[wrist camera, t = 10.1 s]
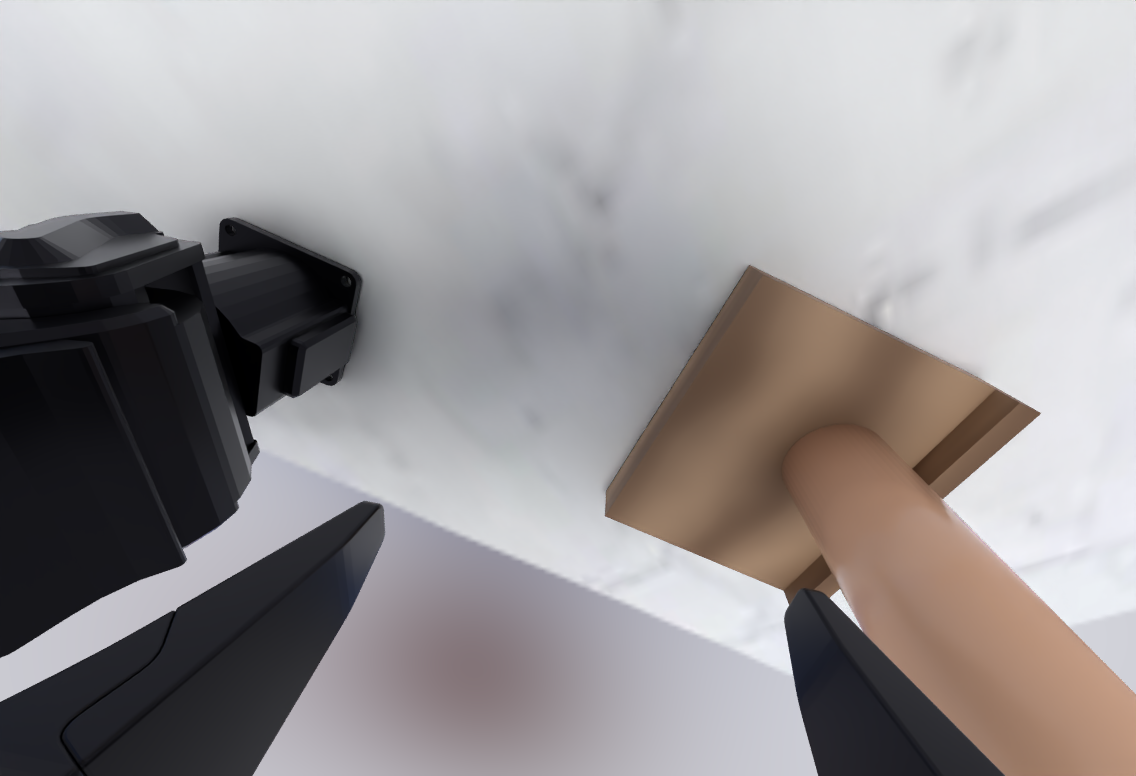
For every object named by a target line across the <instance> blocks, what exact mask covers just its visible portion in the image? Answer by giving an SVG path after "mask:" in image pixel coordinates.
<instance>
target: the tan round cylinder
mask: <svg viewBox="0 0 1136 776" xmlns="http://www.w3.org/2000/svg"><path fill="white" fill-rule="evenodd" d="M782 478H783V482H784V484H785V486H786V488H787V489H788V491H789V493H790V495H791V497H792V499H793V501H794V503H795V505H796V506H797V508H798V510H799V512H800V514H801V516H802V518H803V520H804V521H805V523H806V525H807V527H808V529H809V531H810V533H811V535H812V536H813V538H814V540H815V542H816V544H817V546H818V548H819V550H820V552H821V553H822V555H823V557H824V559H825V561H826V563H827V565H828V567H829V568H830V570H831V572H832V574H833V576H834V578H835V580H836V582H837V583H838V585H839V587H840V589H841V591H842V593H843V595H844V597H845V599H846V600H847V602H848V604H849V606H850V608H851V610H852V612H853V614H854V615H855V617H856V619H857V621H858V623H859V625H860V627H861V629H862V631H863V632H864V634H865V635H866V636H867V637H868V638H869V639H870V640H871V641H872V642H873V643H874V644H875V645H876V646H877V647H878V648H879V649H880V650H881V651H882V652H883V653H884V654H885V655H886V656H887V657H888V658H889V659H890V660H891V661H892V662H893V663H894V664H895V665H896V666H897V667H898V668H899V669H900V670H901V671H902V672H903V673H904V674H905V675H906V676H907V677H908V678H909V679H910V680H911V681H912V682H913V683H914V684H915V685H916V686H917V687H918V688H919V689H920V690H921V691H922V692H923V693H924V694H925V695H926V696H927V697H928V698H929V699H930V700H931V701H932V702H933V703H934V704H935V705H936V706H937V707H938V708H939V709H940V710H941V711H942V712H943V713H944V714H945V715H946V716H947V717H948V718H949V719H950V720H951V721H952V722H953V723H954V724H955V725H956V726H957V727H958V728H959V729H960V730H961V731H962V732H963V733H964V734H965V735H966V736H967V737H968V738H969V739H970V740H971V741H972V742H973V743H974V744H975V745H976V746H977V748H978V749H979V750H980V751H981V752H982V753H983V754H984V755H985V756H986V757H987V758H988V759H989V760H990V761H991V762H992V763H993V764H994V765H995V766H996V767H997V768H998V769H999V770H1000V771H1001V772H1002V773H1003V774H1004V775H1005V776H1136V694H1135V693H1134V692H1133V691H1132V690H1131V689H1130V688H1129V687H1128V686H1127V685H1126V684H1125V683H1124V682H1123V681H1122V680H1121V679H1120V678H1119V677H1118V676H1117V675H1116V674H1115V673H1114V672H1113V671H1112V670H1111V669H1110V668H1109V667H1108V666H1107V665H1106V664H1105V663H1104V662H1103V661H1102V660H1101V659H1100V658H1099V657H1098V656H1097V655H1096V654H1095V653H1094V652H1093V651H1092V650H1091V649H1090V648H1089V647H1088V646H1087V645H1086V644H1085V643H1084V642H1083V641H1082V640H1081V639H1080V638H1079V637H1078V636H1077V635H1076V634H1075V633H1074V632H1073V631H1072V630H1071V629H1070V628H1069V627H1068V626H1067V625H1066V624H1065V623H1064V622H1063V621H1062V620H1061V619H1060V618H1059V617H1058V616H1057V615H1056V613H1055V612H1054V611H1053V610H1052V609H1051V608H1050V607H1049V606H1048V605H1047V604H1046V603H1045V602H1044V601H1043V600H1042V599H1041V598H1040V597H1039V596H1038V595H1037V594H1036V593H1035V592H1034V591H1033V590H1032V589H1031V588H1030V587H1029V586H1028V585H1027V584H1026V583H1025V582H1024V581H1023V580H1022V579H1021V578H1020V577H1019V576H1018V575H1017V574H1016V573H1015V572H1014V571H1013V570H1012V569H1011V568H1010V567H1009V566H1008V565H1007V564H1006V563H1005V562H1004V561H1003V560H1002V559H1001V558H1000V557H999V556H998V555H997V554H996V553H995V552H994V551H993V550H992V549H991V548H990V547H989V546H988V545H987V544H986V543H985V542H984V541H983V540H982V539H981V538H980V537H979V536H978V535H977V534H976V533H975V532H974V531H973V530H972V529H971V528H970V527H969V526H968V525H967V524H966V523H965V522H964V521H963V520H962V519H961V518H960V517H959V516H958V515H957V514H956V513H955V512H954V511H953V510H952V509H951V508H950V507H949V506H948V505H947V504H946V503H945V502H944V501H943V500H942V499H941V498H940V497H939V495H938V494H937V493H936V492H935V491H934V490H933V489H932V488H931V487H930V486H929V485H928V484H927V483H926V482H925V481H924V480H923V479H922V478H921V477H920V476H919V475H918V474H917V473H916V472H915V471H914V470H913V469H912V468H911V467H910V466H909V465H908V464H907V463H906V462H905V461H904V460H903V459H902V458H901V457H900V456H899V455H898V454H897V453H896V452H895V451H894V450H893V449H892V448H891V447H890V446H889V445H888V444H887V443H886V442H885V441H884V440H883V439H882V438H881V437H880V436H879V435H878V434H876V433H875V432H874V431H872V430H870V429H868V428H865V427H862V426H858V425H852V424H837V425H831V426H826V427H823V428H819V429H817V430H815V431H812V432H810V433H809V434H807V435H805V436H804V437H802V438H801V439H800V440H798V441H797V442H796V443H795V444H794V445H793V446H792V447H791V448H790V450H789V451H788V453H787V454H786V456H785V458H784V461H783V464H782Z"/></svg>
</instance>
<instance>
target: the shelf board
mask: <svg viewBox="0 0 1136 776" xmlns="http://www.w3.org/2000/svg"><path fill="white" fill-rule="evenodd" d="M1040 414H1041V413H1040V412H1038V411H1036V410H1034V409H1033V408H1031V407H1029V406H1027V405H1026V404H1024V403H1022V402H1020V401H1019V400H1017V399H1015V398H1013V397H1012V396H1010V395H1008V394H1006V393H1004V392H1003V391H1001V390H999V389H997V388H996V387H994V386H992V385H990V384H989V383H987V382H985V381H983V380H982V379H980V378H978V377H976V376H974V375H972V374H970V373H968V372H966V371H964V370H962V369H960V368H958V367H955V366H953V365H951V364H949V363H947V362H945V361H943V360H941V359H939V358H937V357H935V356H933V355H931V354H929V353H927V352H925V351H923V350H921V349H919V348H917V347H915V346H913V345H911V344H909V343H907V342H905V341H903V340H901V339H899V338H897V337H895V336H893V335H891V334H889V333H887V332H885V331H883V330H880V329H878V328H876V327H874V326H872V325H870V324H868V323H866V322H864V321H862V320H860V319H858V318H856V317H854V316H852V315H850V314H848V313H846V312H844V311H842V310H840V309H838V308H836V307H834V306H832V305H830V304H828V303H826V302H824V301H822V300H820V299H818V298H816V297H814V296H812V295H810V294H807V293H805V292H803V291H801V290H799V289H797V288H795V287H793V286H791V285H789V284H787V283H785V282H783V281H781V280H779V279H777V278H775V277H773V276H771V275H769V274H767V273H765V272H763V271H761V270H759V269H757V268H755V267H753V266H751V265H749V267H748V268H747V270H746V271H745V273H744V274H743V276H742V278H741V279H740V281H739V282H738V284H737V286H736V287H735V289H734V290H733V292H732V293H731V295H730V297H729V298H728V300H727V301H726V303H725V304H724V306H723V308H722V309H721V311H720V312H719V314H718V316H717V317H716V319H715V320H714V322H713V323H712V325H711V327H710V328H709V330H708V331H707V333H706V334H705V336H704V338H703V339H702V341H701V342H700V344H699V346H698V347H697V349H696V350H695V352H694V353H693V355H692V357H691V358H690V360H689V361H688V363H687V364H686V366H685V368H684V369H683V371H682V372H681V374H680V376H679V377H678V379H677V380H676V382H675V383H674V385H673V387H672V388H671V390H670V391H669V393H668V394H667V396H666V398H665V399H664V401H663V402H662V404H661V406H660V407H659V409H658V410H657V412H656V413H655V415H654V417H653V418H652V420H651V421H650V423H649V424H648V426H647V428H646V429H645V431H644V432H643V434H642V436H641V437H640V439H639V440H638V442H637V443H636V445H635V447H634V448H633V450H632V451H631V453H630V454H629V456H628V458H627V459H626V461H625V462H624V464H623V466H622V467H621V469H620V470H619V472H618V473H617V475H616V477H615V478H614V480H613V481H612V483H611V484H610V486H609V488H608V489H607V491H606V505H605V516H606V517H608V518H611V519H613V520H616V521H618V522H620V523H623V524H625V525H628V526H630V527H632V528H635V529H637V530H640V531H642V532H644V533H647V534H649V535H652V536H654V537H656V538H659V539H661V540H663V541H666V542H668V543H671V544H673V545H675V546H678V547H680V548H683V549H685V550H687V551H690V552H692V553H695V554H697V555H699V556H702V557H704V558H707V559H709V560H711V561H714V562H716V563H719V564H721V565H723V566H726V567H728V568H731V569H733V570H735V571H738V572H740V573H743V574H745V575H747V576H750V577H752V578H755V579H757V580H759V581H762V582H764V583H766V584H769V585H771V586H774V587H776V588H778V589H781V590H783V591H784V593H785V595H786V598H787V600H788V603H789V605H790V603H791V602H792V600H793V598H794V597H795V595H796V593H797V592H798V590H799V589H801V588H809V589H814V590H819V591H821V592H823V593H825V594H826V595H827V596H828V597H829V598H830V597H831V596H832V595H833V594H834V593H835V592H837V591H838V590H839V589H840V587H839V585H838V583H837V582H836V580H835V578H834V576H833V574H832V572H831V570H830V568H829V567H828V565H827V563H826V561H825V559H824V557H823V555H822V553H821V552H820V550H819V548H818V546H817V544H816V542H815V540H814V538H813V536H812V535H811V533H810V531H809V529H808V527H807V525H806V523H805V521H804V520H803V518H802V516H801V514H800V512H799V510H798V508H797V506H796V505H795V503H794V501H793V499H792V497H791V495H790V493H789V491H788V489H787V488H786V486H785V484H784V482H783V478H782V464H783V461H784V458H785V456H786V454H787V453H788V451H789V450H790V448H791V447H792V446H793V445H794V444H795V443H796V442H797V441H798V440H800V439H801V438H802V437H804V436H805V435H807V434H809V433H810V432H812V431H815V430H817V429H819V428H823V427H826V426H831V425H837V424H852V425H858V426H862V427H865V428H868V429H870V430H872V431H874V432H875V433H876V434H878V435H879V436H880V437H881V438H882V439H883V440H884V441H885V442H886V443H887V444H888V445H889V446H890V447H891V448H892V449H893V450H894V451H895V452H896V453H897V454H898V455H899V456H900V457H901V458H902V459H903V460H904V461H905V462H906V463H907V464H908V465H909V466H910V467H911V468H912V469H913V470H914V471H915V472H916V473H917V474H918V475H919V476H920V477H921V478H922V479H923V480H924V481H925V482H926V483H927V484H928V485H929V486H930V487H931V488H932V489H933V490H934V491H935V492H936V493H937V494H938V495H939V497H940V498H941V499H943V498H945V497H946V496H947V495H948V494H949V493H950V492H951V491H953V490H954V489H955V488H956V487H957V486H958V485H960V484H961V483H962V482H963V481H964V480H965V479H966V478H968V477H969V476H970V475H971V474H972V473H973V472H974V471H976V470H977V469H978V468H979V467H980V466H981V465H982V464H984V463H985V462H986V461H987V460H988V459H989V458H991V457H992V456H993V455H994V454H995V453H996V452H997V451H999V450H1000V449H1001V448H1002V447H1003V446H1004V445H1005V444H1007V443H1008V442H1009V441H1010V440H1011V439H1012V438H1013V437H1015V436H1016V435H1017V434H1018V433H1019V432H1020V431H1022V430H1023V429H1024V428H1025V427H1026V426H1027V425H1028V424H1030V423H1031V422H1032V421H1033V420H1034V419H1035V418H1036V417H1038V416H1039V415H1040Z"/></svg>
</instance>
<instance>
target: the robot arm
mask: <svg viewBox="0 0 1136 776" xmlns="http://www.w3.org/2000/svg"><path fill="white" fill-rule="evenodd" d="M232 226H233V227H234V228H235V230H236V233H234V231H233V230H232ZM346 276H347V277H348V278H350V280H351V285H349V284H348V283H347V281H346ZM360 286H361V279H360V277H359V275H358V274H357V273H356V272H355V271H353V270H351V269H349V268H347V267H345V266H342V265H340V264H338V263H336V262H334V261H331V260H329V259H327V258H325V257H322V256H320V255H318V254H316V253H313V252H311V251H309V250H307V249H305V248H302V247H300V246H298V245H296V244H293V243H291V242H289V241H287V240H284V239H282V238H280V237H278V236H276V235H273V234H271V233H269V232H267V231H264V230H262V229H260V228H258V227H255V226H253V225H251V224H249V223H247V222H244V221H242V220H240V219H237V218H227V219H223V220H222V221H221V222H220V229H219V252H215V253H210V254H205V255H204V252H203V248H202V245H201V243H200V242H194V241H185V240H178V239H176V238H171V237H166V236H164V234H163V232H161V231H158V230H157V229H156V228H155V227H154V226H153V225H151V224H150V223H149V222H148V221H147V220H146V219H145V218H144V217H143V216H142V215H140V214H139V213H133V212H124V211H118V212H105V213H92V214H80V215H70V216H63V217H57V218H53V219H49V220H46V221H43V222H40V223H38V224H32V225H28V226H26V227H23V228H21V229H19V230H12V231H0V658H1V657H3V656H6V655H8V654H10V653H12V652H14V651H16V650H17V649H19V648H20V647H22V646H24V645H25V644H27V643H28V642H30V641H32V640H33V639H34V638H36V637H38V636H39V635H41V634H43V633H44V632H46V631H47V630H49V629H51V628H52V627H53V626H55V625H57V624H59V623H60V622H62V621H63V620H65V619H66V618H68V617H70V616H71V615H73V614H75V613H76V612H78V611H80V610H81V609H83V608H85V607H87V606H88V605H90V604H92V603H93V602H95V601H97V600H99V599H100V598H102V597H105V596H107V595H109V594H111V593H113V592H115V591H117V590H119V589H122V588H124V587H126V586H128V585H130V584H132V583H134V582H137V581H139V580H141V579H144V578H147V577H150V576H153V575H156V574H159V573H162V572H165V571H168V570H171V569H174V568H176V567H179V566H181V565H183V564H184V563H185V562H186V560H187V558H186V556H185V554H184V551H183V549H184V548H186V547H188V546H189V545H191V544H192V543H194V542H196V541H197V540H199V539H201V538H202V537H204V536H205V535H207V534H209V533H210V532H212V531H213V530H215V529H216V528H218V527H219V526H220V525H221V524H222V523H224V522H225V521H226V520H227V519H228V518H229V517H231V516H232V515H233V514H234V513H235V512H236V511H237V510H238V508H239V505H238V502H237V500H238V499H239V498H240V497H241V495H242V494H243V492H244V490H245V489H246V487H247V486H248V484H249V482H250V481H251V465H252V464H253V462H254V460H255V459H256V457H257V456H258V454H259V452H260V450H259V447H258V443H257V441H256V440H254V439H253V437H252V433H251V430H250V426H249V423H248V419H247V416H251V417H253V416H256V415H257V414H259V413H260V412H262V411H263V410H265V409H266V408H268V407H269V406H271V405H272V404H274V403H275V402H277V401H278V400H280V399H281V398H283V397H284V396H286V395H287V396H289V397H292V398H295V397H298V396H300V395H302V394H303V393H305V392H306V391H308V390H309V389H310V388H312V387H313V386H315V385H316V384H318V383H319V382H321V383H323V384H326V385H329V386H333V385H335V384H336V383H338V382H339V381H340V380H341V378H342V374H343V369H344V365H345V364H346V363H348V362H349V359H350V354H351V349H352V345H353V340H354V335H355V330H356V325H357V320H356V317H355V310H356V305H357V301H358V296H359V291H360ZM329 375H332V377H333V378H331V377H330V376H329ZM246 415H247V416H246ZM384 535H385V523H384V509H383V506H382V505H381V504H378V503H373V502H368V501H363V502H360V503H358V504H357V505H355V506H354V507H351V508H350V509H348V510H346V511H344V512H343V513H341V514H339V515H338V516H336V517H334V518H332V519H331V520H329V521H327V522H325V523H324V524H322V525H321V526H319V527H317V528H315V529H313V530H312V531H310V532H308V533H307V534H305V535H303V536H301V537H299V538H298V539H296V540H295V541H293V542H291V543H289V544H287V545H285V546H284V547H282V548H281V549H279V550H277V551H275V552H273V553H272V554H270V555H268V556H266V557H265V558H263V559H261V560H259V561H258V562H256V563H254V564H252V565H251V566H249V567H247V568H246V569H244V570H242V571H241V572H239V573H237V574H235V575H233V576H232V577H230V578H228V579H227V580H225V581H223V582H221V583H220V584H218V585H216V586H214V587H213V588H211V589H209V590H207V591H206V592H204V593H202V594H201V595H199V596H197V597H195V598H194V599H192V600H190V601H188V602H187V603H185V604H183V605H181V606H180V607H178V608H177V610H176V612H175V611H171V612H169V613H168V614H166V615H164V616H162V617H160V618H159V619H157V620H155V621H153V622H152V623H150V624H148V625H146V626H145V627H143V628H141V629H139V630H137V631H136V632H134V633H132V634H130V635H129V636H127V637H125V638H123V639H122V640H119V641H118V642H116V643H114V644H112V645H111V646H109V647H107V648H105V649H103V650H101V651H99V652H97V653H95V654H94V655H92V656H90V657H88V658H86V659H84V660H82V661H80V662H78V663H76V664H74V665H72V666H71V667H69V668H67V669H65V670H63V671H61V672H59V673H57V674H55V675H53V676H51V677H49V678H47V679H45V680H43V681H41V682H39V683H37V684H35V685H33V686H31V687H29V688H27V689H26V690H23V691H21V692H19V693H17V694H15V695H13V696H11V697H10V698H7V699H5V700H3V701H1V702H0V776H252V775H253V774H254V772H255V770H256V769H257V767H258V765H259V764H260V762H261V760H262V758H263V757H264V755H265V753H266V752H267V750H268V749H269V747H270V745H271V744H272V742H273V740H274V739H275V737H276V735H277V733H278V732H279V730H280V728H281V727H282V725H283V723H284V722H285V720H286V718H287V717H288V715H289V713H290V712H291V710H292V708H293V707H294V705H295V703H296V702H297V700H298V698H299V697H300V695H301V693H302V692H303V690H304V688H305V687H306V685H307V683H308V681H309V680H310V678H311V676H312V675H313V673H314V671H315V670H316V668H317V666H318V664H319V663H320V661H321V660H322V658H323V656H324V655H325V653H326V651H327V650H328V648H329V646H330V645H331V643H332V641H333V640H334V638H335V636H336V635H337V633H338V631H339V630H340V628H341V626H342V624H343V623H344V621H345V619H346V618H347V616H348V614H349V612H350V610H351V608H352V606H353V604H354V602H355V600H356V598H357V596H358V594H359V592H360V590H361V587H362V585H363V583H364V581H365V579H366V577H367V575H368V572H369V570H370V568H371V566H372V564H373V562H374V559H375V557H376V555H377V553H378V551H379V548H380V547H381V545H382V542H383V539H384ZM784 623H785V629H786V635H787V641H788V647H789V653H790V658H791V664H792V670H793V676H794V681H795V687H796V692H797V697H798V702H799V706H800V710H801V714H802V718H803V722H804V725H805V729H806V733H807V736H808V740H809V744H810V747H811V751H812V754H813V758H814V762H815V766H816V769H817V773H818V776H1005V775H1004V774H1003V773H1002V772H1001V771H1000V770H999V769H998V768H997V767H996V766H995V765H994V764H993V763H992V762H991V761H990V760H989V759H988V758H987V757H986V756H985V755H984V754H983V753H982V752H981V751H980V750H979V749H978V748H977V746H976V745H975V744H974V743H973V742H972V741H971V740H970V739H969V738H968V737H967V736H966V735H965V734H964V733H963V732H962V731H961V730H960V729H959V728H958V727H957V726H956V725H955V724H954V723H953V722H952V721H951V720H950V719H949V718H948V717H947V716H946V715H945V714H944V713H943V712H942V711H941V710H940V709H939V708H938V707H937V706H936V705H935V704H934V703H933V702H932V701H931V700H930V699H929V698H928V697H927V696H926V695H925V694H924V693H923V692H922V691H921V690H920V689H919V688H918V687H917V686H916V685H915V684H914V683H913V682H912V681H911V680H910V679H909V678H908V677H907V676H906V675H905V674H904V673H903V672H902V671H901V670H900V669H899V668H898V667H897V666H896V665H895V664H894V663H893V662H892V661H891V660H890V659H889V658H888V657H887V656H886V655H885V654H884V653H883V652H882V651H881V650H880V649H879V648H878V647H877V646H876V645H875V644H874V643H873V642H872V641H871V640H870V639H869V638H868V637H867V636H866V635H865V634H864V633H863V632H862V631H861V630H860V628H859V627H858V626H857V625H856V624H855V623H854V622H853V621H852V620H851V619H850V618H849V617H848V616H847V615H846V614H845V613H844V612H843V611H842V610H841V609H840V608H839V607H838V606H837V605H836V604H835V603H834V602H833V601H832V600H831V599H830V598H829V597H828V596H827V595H826V594H825V593H823V592H821V591H819V590H814V589H809V588H801V589H799V590H798V592H797V593H796V595H795V597H794V598H793V600H792V602H791V603H790V605H789V607H788V608H787V610H786V612H785V617H784Z"/></svg>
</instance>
